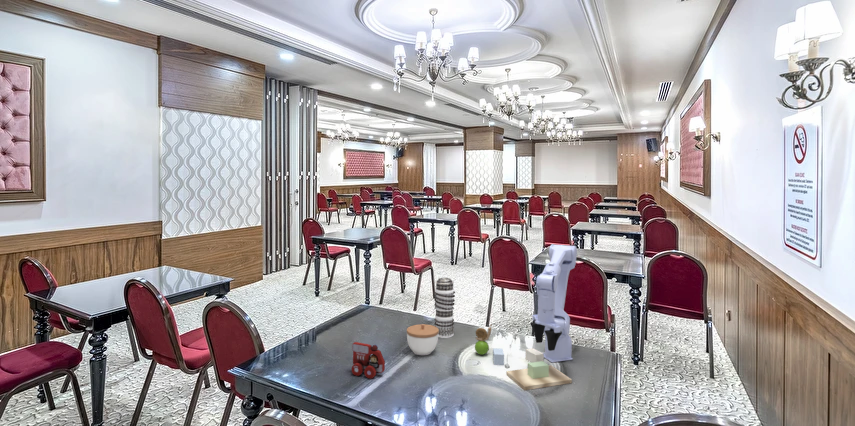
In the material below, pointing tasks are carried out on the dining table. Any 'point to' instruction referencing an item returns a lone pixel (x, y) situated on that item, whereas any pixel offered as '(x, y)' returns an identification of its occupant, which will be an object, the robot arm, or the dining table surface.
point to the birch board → (538, 379)
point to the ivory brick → (534, 355)
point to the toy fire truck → (367, 360)
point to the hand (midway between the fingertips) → (545, 346)
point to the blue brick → (498, 356)
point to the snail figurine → (482, 340)
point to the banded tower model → (444, 307)
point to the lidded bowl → (422, 338)
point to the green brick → (538, 369)
